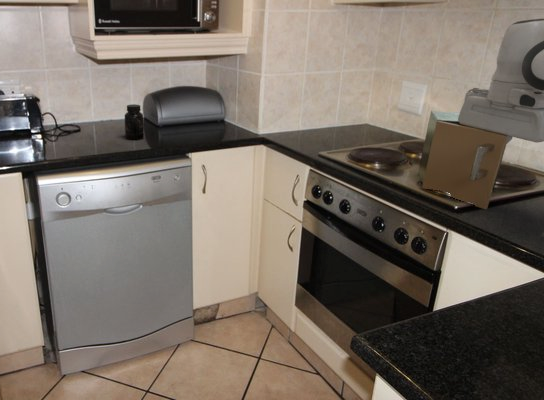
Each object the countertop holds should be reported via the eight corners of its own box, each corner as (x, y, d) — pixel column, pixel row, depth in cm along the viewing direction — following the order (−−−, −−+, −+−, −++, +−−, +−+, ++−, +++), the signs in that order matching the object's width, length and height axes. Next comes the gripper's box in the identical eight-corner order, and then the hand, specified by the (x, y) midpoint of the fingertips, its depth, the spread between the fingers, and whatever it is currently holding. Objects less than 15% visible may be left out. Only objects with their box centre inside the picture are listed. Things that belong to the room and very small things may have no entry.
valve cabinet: (492, 195, 127) (511, 125, 120) (422, 187, 132) (437, 119, 125) (481, 180, 138) (499, 115, 131) (417, 173, 143) (431, 110, 135)
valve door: (473, 214, 115) (493, 138, 108) (410, 191, 129) (424, 123, 121) (487, 208, 118) (507, 135, 111) (424, 187, 132) (438, 120, 125)
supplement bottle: (139, 134, 181) (139, 103, 176) (146, 139, 175) (145, 106, 170) (122, 136, 178) (121, 104, 173) (128, 141, 172) (127, 108, 168)
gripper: (459, 87, 118) (447, 141, 123) (548, 102, 101) (529, 164, 106) (476, 85, 120) (463, 138, 126) (565, 100, 103) (546, 161, 109)
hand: (494, 150), depth 116 cm, fingers closed
